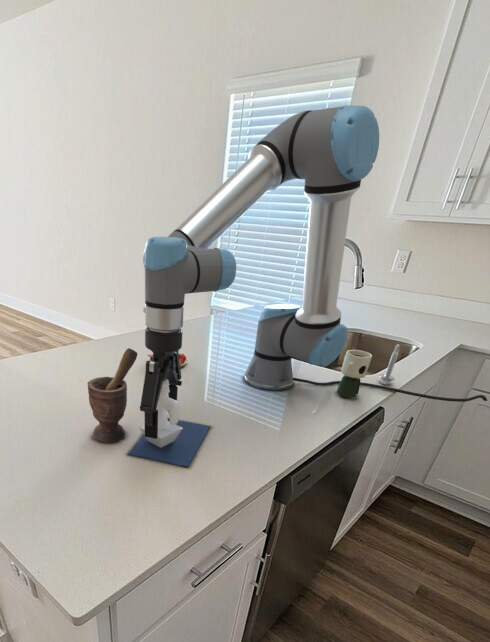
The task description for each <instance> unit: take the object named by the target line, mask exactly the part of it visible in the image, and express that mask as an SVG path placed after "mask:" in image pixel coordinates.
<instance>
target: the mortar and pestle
mask: <svg viewBox="0 0 490 642" xmlns="http://www.w3.org/2000/svg"><path fill="white" fill-rule="evenodd" d="M137 358H138V352H137V351H135V350H134V349H132V348H130V347H129V348H128V347H127V348H126V350H125V351H124V353H123V355H122V357H121V359H120V362H119V364H118V368H117V370H116V372H115V374H114V376H100V377H99V376H98V377H94V378H92V379H90V380H88V381H87V384H86V385H87V389H88V390H87V392H88V393H87V394H88V403H89V406H90V408H91V411H92V415H93V418H94V419H95V420H96V421H97V422H98V425H96V426H95V427H94V429H93V439H94V440H97V441H100V442H103V443H114V442H118V441H121V440H122V439H123V438H124V437H125V436H126V432H125V429H124V427H123V426H122V425H121V424H120V423H119V422H120V421H121V420H122V419H123V417H124V416H125V412H126V409H127V403H128V384H127V382H126V381H125V380H124V379H126V376H127V374H128V372H129V371H130V370H131V368H132V367H133V366H134V365H135V362H136V360H137Z"/></svg>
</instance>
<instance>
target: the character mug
mask: <svg viewBox="0 0 490 642" xmlns="http://www.w3.org/2000/svg"><path fill="white" fill-rule="evenodd" d="M372 357H373V354H371V353H370V352H368V351H366V350H361V349H348V350H347V351H346V352H345V356H344V359H343V361H342V362H343V363H342V366H341V369H340V373H341V375H343V376H342V377H341V379H340V381H341V382H340V384H338V386H337V389H336V393H337V394H338V395H341V396H343V397H344V398H345V397H346V398H348V399H354V398H357V397H358V396H359V393H360V392H359V391H360V387H361V385H360V382H361V379H363V378H365V377H366V375H367V373H368V370H369V368H370V364H371V361H372Z"/></svg>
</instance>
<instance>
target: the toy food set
mask: <svg viewBox="0 0 490 642" xmlns="http://www.w3.org/2000/svg"><path fill="white" fill-rule="evenodd" d="M178 354H179V362H180V368H183V367H184V366H185V365H186V364H187V363H188V360H187V356H186V355H185V354H184V353H180V352H178ZM147 357H148V358H149V361H151V359H152V357H153V354H147Z"/></svg>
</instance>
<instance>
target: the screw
mask: <svg viewBox="0 0 490 642" xmlns="http://www.w3.org/2000/svg"><path fill="white" fill-rule="evenodd" d="M400 348H401V344H400V343H398V344H396V345H395V347H394V349H393V352H392V353H391V357H390V359H389V362H388V364H387V367H386V370H385V373H382V374H381V373H380V374H379V375H378V378H379V380H380V384H381V385H383V386H388V385H390V383H391V382H394V381H395V377H394V376H393V375H392V373H393V370H394V368H395V365H396V362H397V359H398V357H399V356H398V355H399V354H400Z"/></svg>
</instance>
